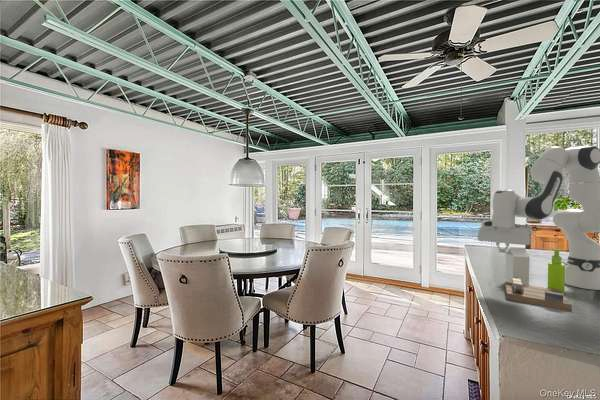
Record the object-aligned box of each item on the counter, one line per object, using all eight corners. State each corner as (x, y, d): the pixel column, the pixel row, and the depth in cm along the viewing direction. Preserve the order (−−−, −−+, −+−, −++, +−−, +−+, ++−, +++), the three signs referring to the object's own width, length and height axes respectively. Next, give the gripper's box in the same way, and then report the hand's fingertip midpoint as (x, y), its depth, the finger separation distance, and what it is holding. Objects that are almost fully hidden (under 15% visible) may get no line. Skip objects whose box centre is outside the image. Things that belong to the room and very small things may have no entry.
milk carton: (528, 287, 136) (529, 248, 136) (512, 286, 137) (513, 248, 137) (520, 283, 143) (521, 246, 143) (505, 281, 144) (505, 245, 144)
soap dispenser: (569, 294, 125) (570, 251, 125) (549, 291, 129) (550, 249, 129) (565, 291, 130) (566, 249, 130) (546, 288, 134) (547, 247, 134)
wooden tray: (505, 286, 135) (505, 275, 135) (560, 295, 124) (560, 283, 124) (507, 299, 117) (507, 286, 117) (571, 311, 106) (572, 296, 106)
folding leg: (523, 293, 117) (524, 286, 117) (513, 292, 119) (513, 284, 119) (520, 284, 130) (520, 277, 130) (511, 283, 132) (511, 276, 132)
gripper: (530, 224, 127) (529, 254, 127) (478, 221, 139) (477, 248, 139) (532, 225, 122) (531, 256, 122) (477, 222, 134) (476, 250, 134)
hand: (502, 252), depth 130 cm, fingers closed
